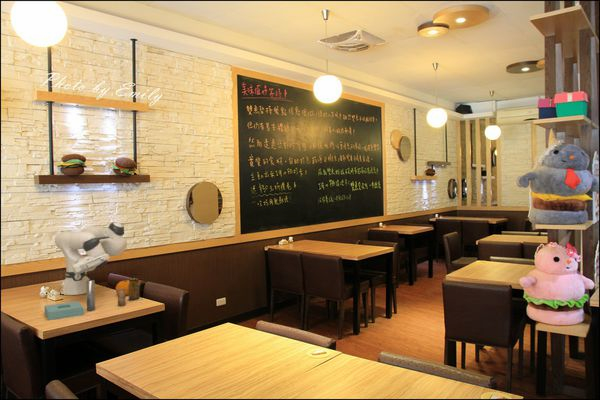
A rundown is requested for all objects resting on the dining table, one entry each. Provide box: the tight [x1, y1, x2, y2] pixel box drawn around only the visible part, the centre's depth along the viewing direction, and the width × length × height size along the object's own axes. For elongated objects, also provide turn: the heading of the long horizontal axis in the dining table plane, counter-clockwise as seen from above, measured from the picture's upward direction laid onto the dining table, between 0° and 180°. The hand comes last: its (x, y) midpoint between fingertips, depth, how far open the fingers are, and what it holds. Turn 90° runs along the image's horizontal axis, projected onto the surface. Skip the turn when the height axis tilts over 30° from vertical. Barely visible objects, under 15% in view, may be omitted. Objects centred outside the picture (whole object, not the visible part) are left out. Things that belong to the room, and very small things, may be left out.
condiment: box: [125, 277, 143, 302], centre depth 263 cm, size 7×8×12 cm
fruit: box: [115, 278, 129, 297], centre depth 275 cm, size 12×12×10 cm
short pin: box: [117, 289, 126, 307], centre depth 249 cm, size 4×4×9 cm
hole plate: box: [44, 300, 85, 321], centre depth 232 cm, size 16×16×4 cm
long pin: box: [86, 279, 96, 312], centre depth 239 cm, size 4×4×16 cm
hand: (94, 262), depth 251 cm, fingers open, 8 cm apart
